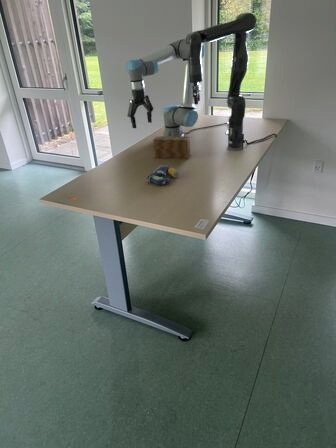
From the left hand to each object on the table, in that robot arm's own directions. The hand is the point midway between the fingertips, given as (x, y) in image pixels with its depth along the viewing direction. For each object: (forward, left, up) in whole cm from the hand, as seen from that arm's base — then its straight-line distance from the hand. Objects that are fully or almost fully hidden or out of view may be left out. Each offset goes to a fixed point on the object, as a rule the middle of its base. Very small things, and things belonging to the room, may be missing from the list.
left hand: (142, 125), depth 207 cm
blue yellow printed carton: (+7, +38, -21) cm, 44 cm away
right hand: (-29, +19, +11) cm, 36 cm away
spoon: (-82, -15, -21) cm, 86 cm away
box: (-14, +11, -21) cm, 27 cm away
